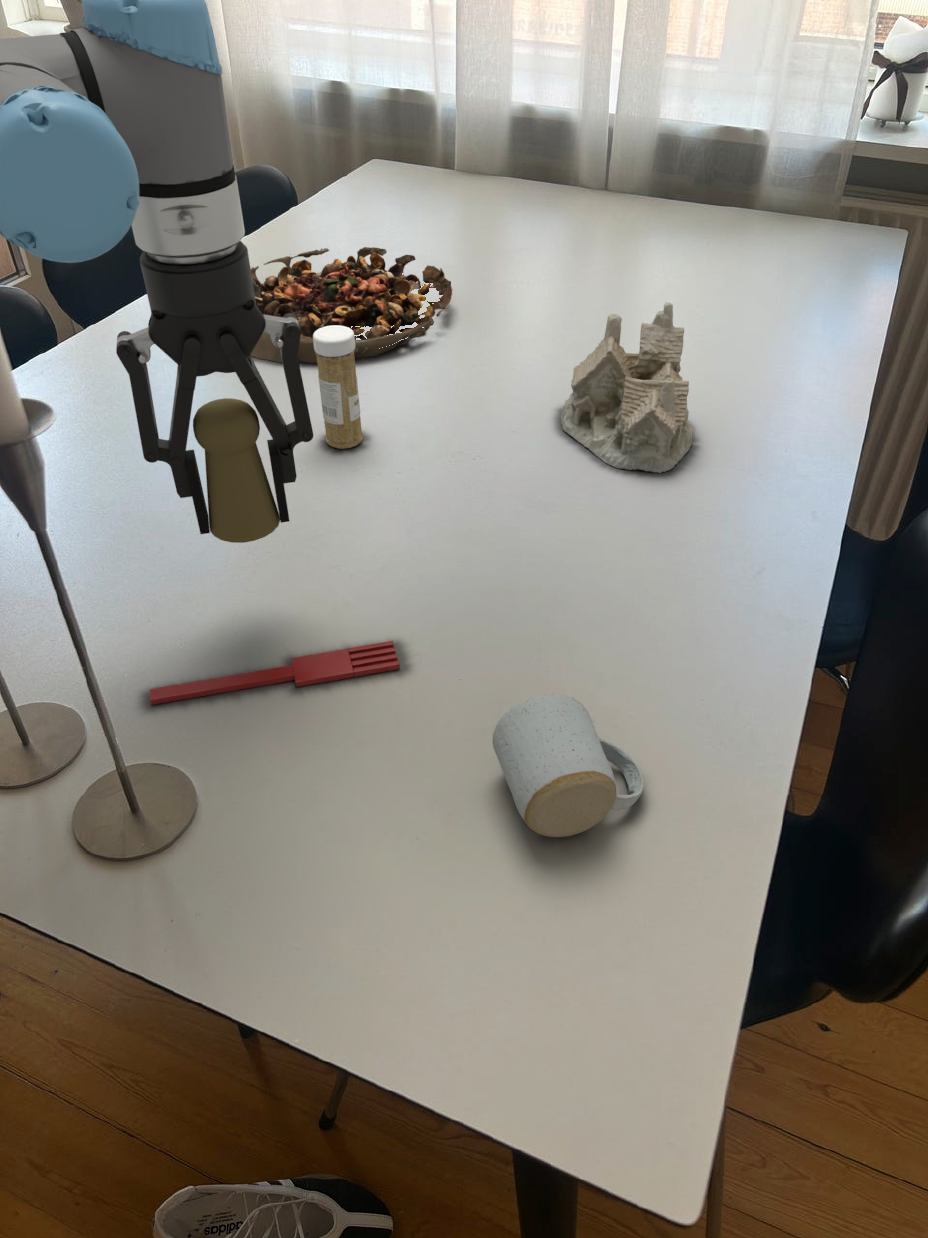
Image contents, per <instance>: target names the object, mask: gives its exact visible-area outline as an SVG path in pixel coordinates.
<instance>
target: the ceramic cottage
mask: <svg viewBox="0 0 928 1238" xmlns="http://www.w3.org/2000/svg"><path fill="white" fill-rule="evenodd" d="M622 321H623V318H622V317H621V316H620V315H619V314H618V313H609V314H608V315H607V318H606V325H605V332H604V336H603V339H602V340H600V342H599V343H598V345H597V346H596V347H595V349H594V350H593V351H592V352H590V353H589V354H588V355H587V356H586V358H585V359H584V360H583V361H580V362H579V364H578V365H575V366H574V367H573V373H572V374H573V375H572V380H571V383H570V387H571V389H572V393H570V394H569V397H568V398H567V399H566V400H564V405H563V406H562V412H561V416H560V418H559V419H560V424H561V428H562V430H563V432H565V433H566V434H568V435H569V436H571V437H572V438H573V439H574V440H575V441H577V442H578V443H579V444H581V445H583V446H584V448H587V449H588V450H589V451H590V452H592V453H593V455H595V456H597V458H598V459H600V460H601V461H602V462H604V463H605V464H607V465H609V466H612V467H614V468H616V469H620V470H621V469H623V470H624V469H625V470H626V471H629V470H630V471H632V470H634V471H636V470H641V471H644V472H652V473H658V474H662V472H663V473H665V472H668V471H670V470H672V469H673V468H675V465H678V464H679V462H680V461H682V459H683V457H684V456H685V455H686V454H687V453H688V452H689V451H690V448H691V447H692V444H693V433H694V432H693V431H694V430H693V429H694V428H693V426H692V425H691V423H690V422H689V421H688V420H689V415H690V411H689V409H688V395H689V390H690V389H689V385H690V380H683V376H681V375H680V374H679V373H680V372H681V361H682V358H681V357H682V354H683V350H684V349H683V348H684V336H685V327H681V326H679V327H675V326H674V305H673V303H671V302H669V301H665V303H664V305H663V310H658V311H657V312H656V315H655V316H654V318H653V321H652V322H651V323H648V322H642V323H641V326H640V338H639V340H640V341H639V351H638V353H630V352H626V351H625V349H624V347H622V346H621V345H620V344H621V335H622V334H621V332H622Z"/></svg>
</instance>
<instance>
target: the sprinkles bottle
mask: <svg viewBox="0 0 928 1238" xmlns="http://www.w3.org/2000/svg"><path fill="white" fill-rule="evenodd" d="M313 344H314V350H315V353H316V356H317V363H316V364H317V372H318V375H317V377H318V386H319V393H320V402H321V403H320V404H321V410H322V417H323V420H324V429H325V436H324V440H325V442H326V444H327V445H329V446H330V447H332V448H336V449H341V450H344V449H351V448H354V447H356V446H358V445H360V444H361V443H362V442H363V439H364V433H363V431H362V421H361V405H360V396H359V395H360V394H359V386H358V385H359V384H358V376H357V368H356V358H355V356H354V351H355V337H354V332H353V330H352V329H350V328H348V327H345V326H340V325H332V326H326V327H322V328H320V329H318V330H316V331H315V332H314V334H313Z"/></svg>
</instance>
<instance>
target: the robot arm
mask: <svg viewBox="0 0 928 1238" xmlns="http://www.w3.org/2000/svg"><path fill="white" fill-rule="evenodd" d="M81 9H82V13H83V16H82V18H81V23H82V27H80V28H74V29H70V30H69V31H66V32H60V33H56V34H55V33H54V34H43V35H42V34H41V35H31V36H19V37H18V36H17V37H6V38H0V236H1V237H3V238H4V239H5V240H7V241H8V242H10V243H11V244H13V245H15V246H18V247H19V248H21V249H23V250H24V251H26V252H28V253H30V254H31V255H33V256H35V257H38V258H40V259H43V260H47V261H50V262H56V263H64V264H65V263H67V264H74V263H82V262H86V261H90V260H93V259H96V258H98V257H100V256H102V255H104V254H106V253H107V252H109V251H111V250H112V249H114V247H116V246H117V245H118V244H119V243H120V242H121V241H122V240H123V238H124V237H125V236H126V235H127V233H128V232H129V230H130V229H132V234H133V239H134V242H135V245H136V246H137V247H138V248H139V249H140V250H141V251H142V252H141V255H140V256H139V264H140V269H141V273H142V277H143V278H142V279H143V282H144V286H145V291H146V296H147V299H148V304H149V308H150V317H149V319H148V323H147V325H148V326H147V327H144V328H142V329H140V330H138V331H135V332H132V333H131V332H130V331H128V330H127V331H126V330H123V331H120V332H118V334H117V335H116V350H115V353H116V355H117V357H118V359H119V361H120V362H121V364H122V366H123V367H124V369H125V371H126V372H127V374H128V377H129V382H130V388H131V394H132V400H133V405H134V410H135V416H136V422H137V427H138V433H139V439H140V444H141V450H142V455H143V456H142V457H143V458H144V460H145V461H146V462H148V463H156V462H164V463H166V464H167V465H169V467H170V470H171V473H172V478H173V483H174V486H175V490H176V495H178V497H179V498H180V499H185V498H190V497H191V499H192V501H193V502H192V503H193V506H194V511H195V516H196V520H197V526H198V529H199V533H200V535H205V534H210V533H211V532H210V526H209V511H208V506H207V503H206V498H205V494H204V489H203V485H202V480H201V475H200V470H199V466H198V461H197V457H196V451H195V449H188V450H187V444H188V438H189V431H190V423H191V415H192V409H193V401H194V393H195V390H196V383H197V377H204V376H205V377H206V376H209V375H211V374H214V373H221V374H231V373H235V374H236V375H237V378H238V380H239V381H240V383H241V384H242V385H243V387H244V389H245V391H246V393H247V394H248V396H249V398H250V400H251V401H252V403H253V405H254V407H255V409H256V411H257V412H258V413H257V414H258V415H259V416H260V418H261V420H262V423H264V426H265V427H266V428H267V431H268V433H269V435H270V436H271V437H270V438H271V439H267V440H266V443H267V449H268V456H269V461H270V467H271V472H272V479H273V486H274V491H275V498H276V506H277V509H278V512H279V516H280V523H281V524H282V523H288V522H290V514H289V508H288V502H287V496H286V490H285V484H290V483H291V484H292V483H295V482H296V480H297V470H296V469H297V468H296V463H295V462H296V461H295V456H294V455H295V454H294V448H295V447H296V446H297V445H298V444H300V443H309V442H311V441H312V440H313V439H314V431H313V426H312V421H311V416H310V411H309V406H308V402H307V396H306V392H305V386H304V381H303V376H302V371H301V367H300V361H298V356H297V354H298V349H299V343H300V337H301V330H300V327H299V324H298V320H297V318H296V316H295V315H294V314H291V313H287V314H285V315H284V316H283V317H277V316H271V315H264V313H263V311H262V309H261V308H260V307H259V305H258V304H257V302H256V300H255V295H254V288H253V282H252V275H251V263H250V255H249V250H248V246H246V244H244V243H243V241H242V239H243V238H244V237H245V233H246V230H245V225H244V223H245V222H244V217H243V211H242V205H241V199H240V192H239V185H238V179H237V175H236V173H235V172H236V171H235V165H234V160H233V152H232V145H231V138H230V131H229V130H230V129H229V123H228V122H229V121H228V116H227V108H226V101H225V92H224V85H223V78H222V75H223V67H222V65H221V64H220V59H219V54H218V53H219V52H218V49H217V44H216V40H215V39H216V38H215V34H214V29H213V25H212V20H211V16H210V12H209V8H208V5H207V3H206V1H205V0H81ZM263 332H267V333H268V334H269V335H270V337H271V342H272V344H273V345H274V346H275V347H278V348H280V354H281V359H282V362H281V364H282V367H283V372H284V376H285V377H284V378H285V381H286V386H287V391H288V396H289V399H290V406H291V410H292V415H293V418H294V421H292V422H290V423H288V424H287V423H286V421H285V419H284V417H283V416H282V413H281V411H280V410H279V408H278V405H277V404H276V403H275V400H274V398H273V396H272V394H271V392H270V391H269V389H268V387H267V384H265V380H264V379H263V377H262V375H261V373H260V372H259V369H258V368H257V366H256V363H255V361H254V357H253V356H251V353H252V351H253V349H254V348H255V346H256V344H257V342H258V340H259V339H260V337H261V335H262V333H263ZM153 345H155V346H157V347H158V348H159V349H160V351H161V352H163V353H164V354H165V355H166V356H167V357H169V359H171V360H172V361H173V362H174V363H175V364H176V365H177V367H176V368H177V369H176V379H175V387H174V396H173V403H172V410H171V420H170V427H169V435H168V439H164V438H160V436H159V429H158V424H157V418H156V414H155V413H156V412H155V406H154V400H153V393H152V387H151V381H150V375H149V369H148V365H147V363H148V362H149V361H150V360H151V355H152V352H151V347H152V346H153Z"/></svg>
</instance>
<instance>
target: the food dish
mask: <svg viewBox="0 0 928 1238" xmlns="http://www.w3.org/2000/svg"><path fill="white" fill-rule="evenodd" d="M329 251H330V249H329V248H328V247H324V248H322V247H321V248H320V250H318V249H314V250H309V251H305V252H304V251H303V252H302V253H299V254H297V255H295V256H290V255H289V256H288V255H287V256H284V257H279V258H275V259H272V260H269V261H267V262H265V263H263V266H266V265H269V264H273V263H283V264H284V265H285V266H283V267H282V268H281V269H280V270H279V272H278V273H277V276H276V275H269V276H268V277H265V281H264V282H261V281H260V280H259V279H258V276H257V274H256V273H257V270H259V268H260V265H257V266H255V267H254V266H251V267H250V269H251V275H252V282H253V288H254V295H255V300H256V302H257V304H258V305H259V307H260V308H261V309H262V311H263V313H264V315H271V316H277V317H283V316H284V315H285V314H287V313H291V314H294V315H295V316H296V318H297V320H298V324H299V327H300V330H301V337H300V343H299V349H298V354H297V356H298V361H299V362H303V363H308V364H309V363H310V364H318V363H317V356H316V353H315V350H314V344H313V334H314V332H315V331H316V330H318V329H320V328H322V327H326V326H332V325H340V326H345V327H349V328H350V329H352V330H353V332H354V335H359V334H361V333H363V332H364V331H365V330H364V329H360V328H361V327H364V326H365V327H366V326H369V327H372V328H371V329H370V331H367V332H366V333H365V336H366V337H367V339H366V338H365V337H364V336H363V335H360V336H357V337H356V336H354V337H355V351H354V356H355V359H359V358H363V357H364V358H365V357H376V356H378V355H381V354H384V353H387V352H389V351H390V352H391V351H392V350H394V349H395V348H396V347H398V346H402V345H406V344H407V343H408V342H410V340H411V339H413V338H417V337H420V336H423V335H424V334H426V331H427V330H429V329H430V328H431V326H432V325H434V323H435V321H434V319H433V316H434V315H435V316H436V317H437V318H438V317H440V316H441V315H442V313H443V311H444V310H446V309H447V308H448V307H449V305H450V303H451V301H452V297H453V290H454V289H453V288H452V287H453V286H452V281H451V280H449V279H447V278H446V275H445V271H444V270H443V268H442V267H440V268H438V267H436V266H435V265H429V264H428V265H426V267H425V268H424V270H422V282H423V281H424V282H425V283H429V284H428V285H426V284H424V286H423V285H421V281H420V278H419V277H418V276H417V275H416V274H412V273H410V274H408V275H404V270H405V266H406V265H408V264H409V263H411V262H413V261H416V256H415V255H414V254H413V255H412V254H404V255H402V256H400V257H396V258H395V260H394V262H395V264H394V265H392V266H390V267H389V268H388V270H386V261H385V258H384V257H383V256H384V255H386V254H387V253H388V252H387V249H385V248H380V247H369V246H368V247H367V246H364V247H362V248H359V249H358V251H356V254H357V257H356V258H355V257H354V256H353V255H349V256H348V257H347V259H346V261H344V262H342V260H341V259H339V258H334V259H333V262H331V263H327V264H325V265H324V267H323V268H322V270H321V271H319V272H315V271H313V270H312V263H311V262H310V261H309V260H306V259H307V258H311V257H312V256H319V255H320V256H321V255H323V254H326V253H328V252H329ZM367 256H369V261H370V264H369V263H368V262H367V261H366V257H367ZM299 257H302V258H305V259H301V260H297V261H296V262H294V263H293V264H292V265H291V263H292V260H293V259H294V258H299ZM402 273H403V275H402ZM430 283H433V285H432V286H431V287H430V285H431V284H430ZM421 286H423V287H422V288H421ZM420 288H421V289H420ZM429 288H436V290H437V291H439V295H443V296H442V297H441V298H439V299H440V301H438V302H428V301H427V302H428V303H429V304H430V306H428V307H426V308H427V311H426V312H424V313H422V314H420V315H425V317H424V318H421V319H420V318H419V317H420V315H418V311H419V310H420V308H422V306H423V304H422V303H421V301H425V300H426V297H425V296H423V295H425V294H427V293H428V292H429ZM414 289H419V290H418V294H413V293H411V291H412V290H414ZM432 303H434V304H432ZM438 308H439V309H440V310H439V311H438V312H437V313H436V309H438ZM414 322H416V323H417V324H418V325H417V326H416V327H414V328H405V329H401V330H399V331H400V332H402V333H396V334H395V332H396V331H397V330H398V329H399V327H400V326H405V325H412V324H413V323H414ZM393 325H394V326H393ZM351 326H353V327H352V328H351ZM355 326H360V327H355ZM391 326H393V327H392V328H391ZM422 327H424V328H422ZM389 334H393V335H389ZM387 335H388V336H387ZM407 337H408V338H407ZM356 338H360V339H361V340H356ZM405 338H407V339H405ZM401 339H404V340H401ZM399 340H401V341H399ZM398 341H399V342H398ZM396 342H397V343H396ZM394 343H395V344H394ZM392 344H393V345H392ZM389 345H390V346H389ZM386 346H387V347H386ZM382 347H383V348H382ZM379 348H380V349H379ZM251 356H252V358H256V359H261V360H266V361H267V360H268V361H271V362H276V363H282V359H281V354H280V348H278V347H275V346H274V345H273V344H272V342H271V337H270V335H269V334H268V333H267V332H263V333H262V335H261V337H260V339H259V340H258V342H257V344H256V346H255V348H254V349H253V351H252V353H251Z"/></svg>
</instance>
